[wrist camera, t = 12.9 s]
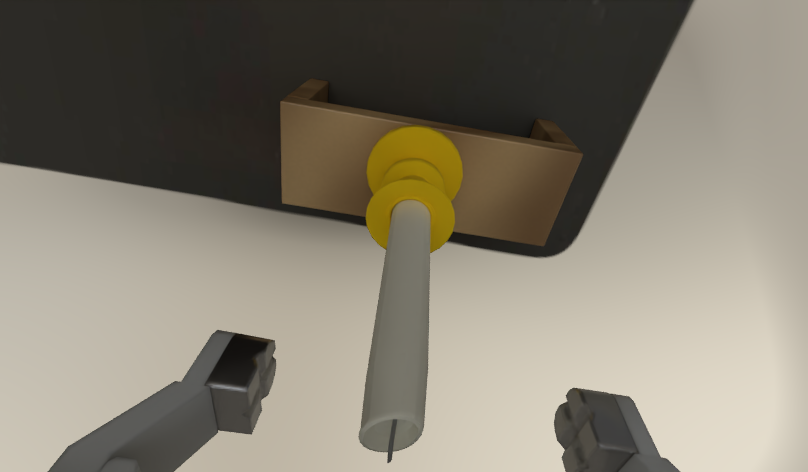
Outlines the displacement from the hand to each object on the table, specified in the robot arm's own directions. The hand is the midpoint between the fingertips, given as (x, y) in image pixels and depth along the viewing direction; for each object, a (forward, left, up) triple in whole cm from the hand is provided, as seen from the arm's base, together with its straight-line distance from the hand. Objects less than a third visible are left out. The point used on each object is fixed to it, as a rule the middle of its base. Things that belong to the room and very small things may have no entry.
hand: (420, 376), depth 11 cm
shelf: (0, 0, -19) cm, 19 cm away
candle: (+1, 0, -13) cm, 13 cm away
